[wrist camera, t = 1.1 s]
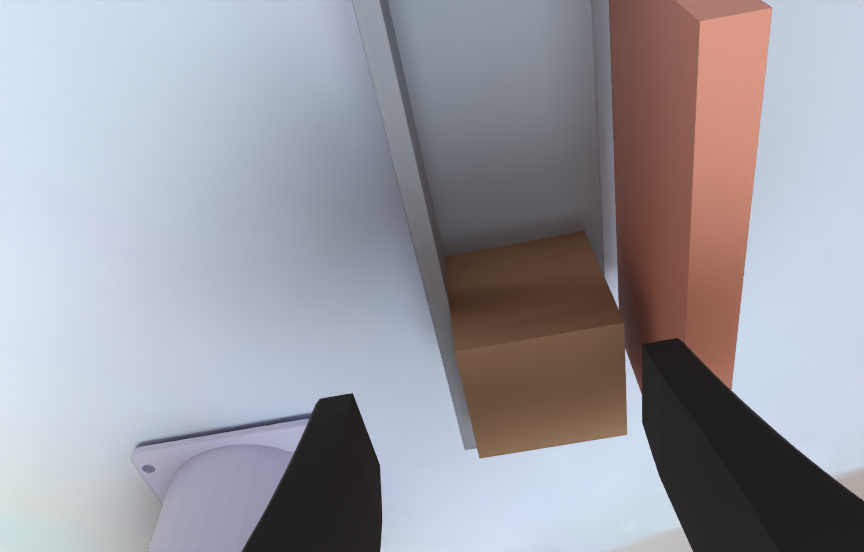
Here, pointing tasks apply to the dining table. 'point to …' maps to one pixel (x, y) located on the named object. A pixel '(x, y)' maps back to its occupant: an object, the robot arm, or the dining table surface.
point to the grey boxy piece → (485, 131)
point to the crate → (537, 345)
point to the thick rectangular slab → (685, 168)
